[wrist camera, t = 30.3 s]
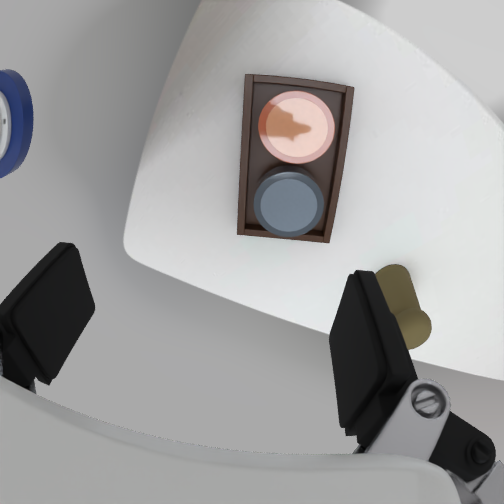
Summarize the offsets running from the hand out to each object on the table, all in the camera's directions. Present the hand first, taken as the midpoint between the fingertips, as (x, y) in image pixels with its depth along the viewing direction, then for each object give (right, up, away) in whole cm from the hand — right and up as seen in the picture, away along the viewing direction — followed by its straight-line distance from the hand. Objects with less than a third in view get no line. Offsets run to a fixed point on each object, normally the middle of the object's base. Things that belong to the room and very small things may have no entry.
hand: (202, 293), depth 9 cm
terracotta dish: (+6, +14, +18) cm, 24 cm away
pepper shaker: (+21, -3, +28) cm, 35 cm away
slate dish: (+6, +8, +22) cm, 24 cm away
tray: (+6, +11, +21) cm, 24 cm away
